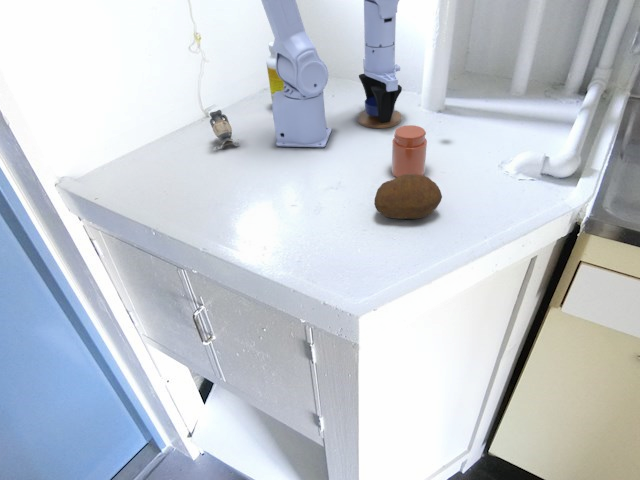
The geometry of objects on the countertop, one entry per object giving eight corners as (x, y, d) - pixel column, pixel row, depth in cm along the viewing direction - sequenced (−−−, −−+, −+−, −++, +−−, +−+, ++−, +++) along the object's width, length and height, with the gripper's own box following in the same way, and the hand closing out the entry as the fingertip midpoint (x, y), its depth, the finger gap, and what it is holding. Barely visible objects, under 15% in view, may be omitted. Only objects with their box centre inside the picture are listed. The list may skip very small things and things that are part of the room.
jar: (390, 179, 78) (391, 138, 73) (392, 163, 82) (393, 124, 77) (424, 180, 78) (427, 139, 73) (424, 164, 82) (427, 124, 77)
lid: (400, 111, 95) (401, 101, 94) (377, 119, 92) (377, 109, 91) (381, 102, 99) (381, 93, 97) (359, 110, 96) (358, 100, 95)
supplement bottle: (301, 112, 101) (294, 47, 92) (271, 113, 101) (261, 48, 93) (304, 100, 106) (297, 37, 97) (275, 101, 106) (266, 39, 97)
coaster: (355, 128, 94) (355, 125, 94) (360, 110, 101) (360, 107, 100) (400, 128, 93) (400, 125, 92) (402, 111, 99) (402, 108, 99)
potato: (370, 205, 72) (370, 168, 68) (432, 199, 73) (435, 161, 69) (378, 229, 68) (378, 191, 63) (444, 222, 68) (448, 183, 64)
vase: (210, 140, 92) (202, 109, 88) (237, 135, 93) (230, 105, 89) (212, 151, 89) (204, 120, 85) (241, 147, 90) (234, 115, 86)
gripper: (414, 50, 83) (411, 126, 92) (386, 31, 93) (385, 101, 102) (377, 56, 81) (377, 132, 91) (352, 35, 91) (355, 105, 101)
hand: (379, 116), depth 96 cm, fingers closed on lid, 6 cm apart
